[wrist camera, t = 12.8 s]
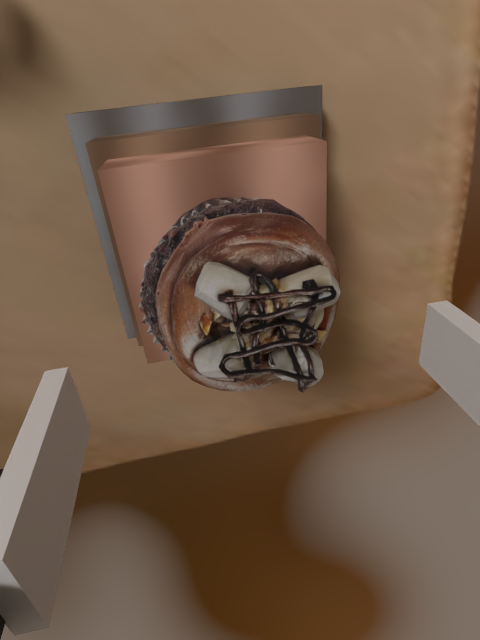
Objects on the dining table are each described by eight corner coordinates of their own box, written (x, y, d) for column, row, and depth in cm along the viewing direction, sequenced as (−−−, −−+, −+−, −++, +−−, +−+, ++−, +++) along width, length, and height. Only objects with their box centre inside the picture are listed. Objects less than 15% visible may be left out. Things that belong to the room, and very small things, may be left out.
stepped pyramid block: (130, 321, 37) (118, 399, 27) (74, 112, 28) (28, 121, 19) (311, 292, 38) (359, 356, 29) (308, 86, 30) (375, 81, 20)
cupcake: (124, 193, 21) (95, 260, 12) (305, 169, 22) (395, 215, 13) (161, 346, 26) (157, 472, 17) (308, 321, 27) (375, 429, 18)
